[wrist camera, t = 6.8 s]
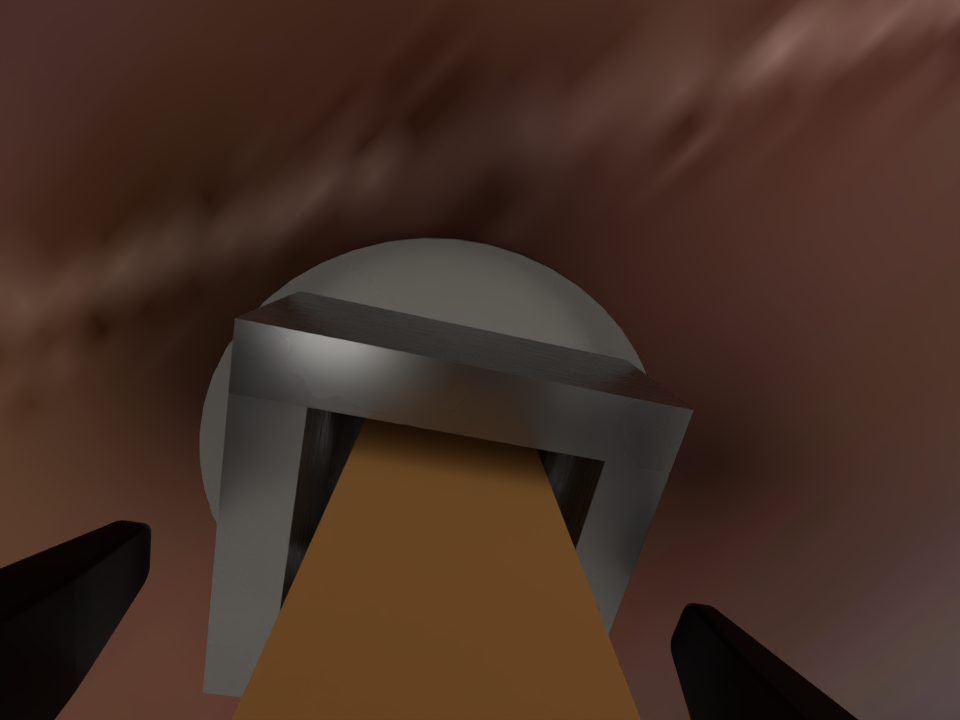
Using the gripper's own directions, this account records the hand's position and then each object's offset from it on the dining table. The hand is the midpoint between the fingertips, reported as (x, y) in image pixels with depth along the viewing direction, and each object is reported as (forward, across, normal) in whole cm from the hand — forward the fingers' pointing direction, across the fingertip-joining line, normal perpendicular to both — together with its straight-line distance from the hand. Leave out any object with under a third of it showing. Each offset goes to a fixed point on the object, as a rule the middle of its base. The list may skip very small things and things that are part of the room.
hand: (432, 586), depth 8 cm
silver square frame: (+5, 0, 0) cm, 5 cm away
